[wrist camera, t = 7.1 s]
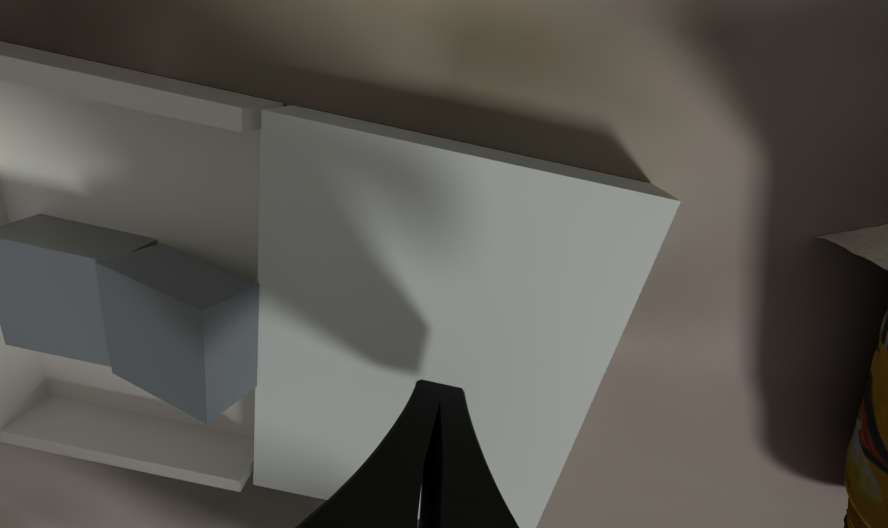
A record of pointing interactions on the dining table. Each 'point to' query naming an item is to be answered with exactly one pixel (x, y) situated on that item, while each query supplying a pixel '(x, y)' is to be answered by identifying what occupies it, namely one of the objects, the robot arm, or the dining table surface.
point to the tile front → (181, 328)
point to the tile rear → (57, 285)
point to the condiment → (869, 406)
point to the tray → (134, 211)
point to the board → (435, 296)
